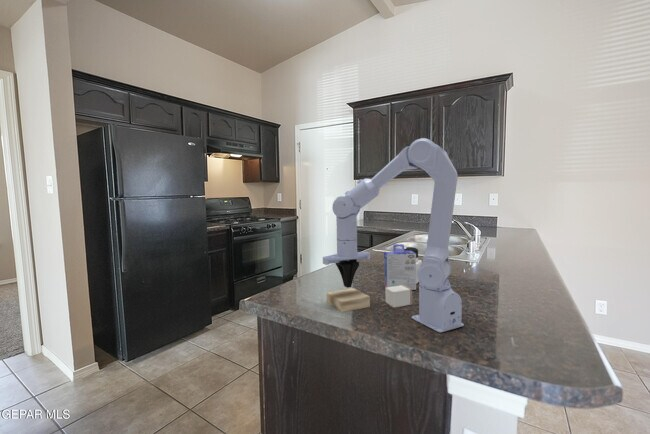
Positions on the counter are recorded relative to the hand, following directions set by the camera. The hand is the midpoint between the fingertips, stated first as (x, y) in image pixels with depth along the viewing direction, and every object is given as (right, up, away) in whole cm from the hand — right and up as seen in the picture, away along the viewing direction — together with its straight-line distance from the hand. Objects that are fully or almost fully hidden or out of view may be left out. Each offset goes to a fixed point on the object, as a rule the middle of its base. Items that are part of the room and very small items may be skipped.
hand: (347, 286), depth 87 cm
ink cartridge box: (+19, -4, +15) cm, 24 cm away
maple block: (0, -5, 0) cm, 5 cm away
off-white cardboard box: (+12, -3, -1) cm, 12 cm away
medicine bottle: (+24, -3, +23) cm, 34 cm away
